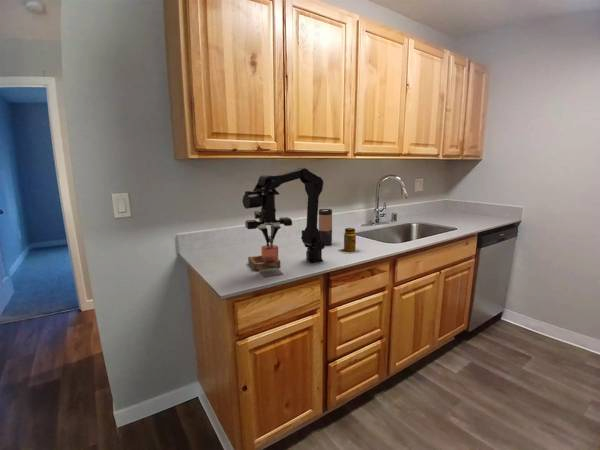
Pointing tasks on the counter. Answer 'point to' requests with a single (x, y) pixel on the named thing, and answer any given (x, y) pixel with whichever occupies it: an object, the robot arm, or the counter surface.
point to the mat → (270, 272)
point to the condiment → (349, 241)
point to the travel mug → (325, 226)
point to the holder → (261, 263)
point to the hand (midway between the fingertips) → (269, 243)
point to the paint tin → (269, 252)
